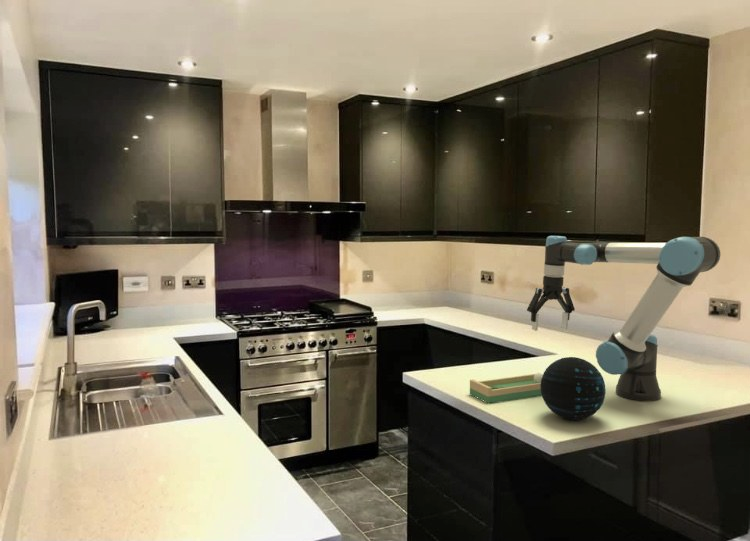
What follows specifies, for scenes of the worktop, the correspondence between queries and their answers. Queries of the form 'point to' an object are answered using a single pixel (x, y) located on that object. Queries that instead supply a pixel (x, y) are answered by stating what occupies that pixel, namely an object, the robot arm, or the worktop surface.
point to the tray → (505, 388)
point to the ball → (538, 377)
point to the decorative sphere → (573, 388)
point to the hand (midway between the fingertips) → (549, 329)
